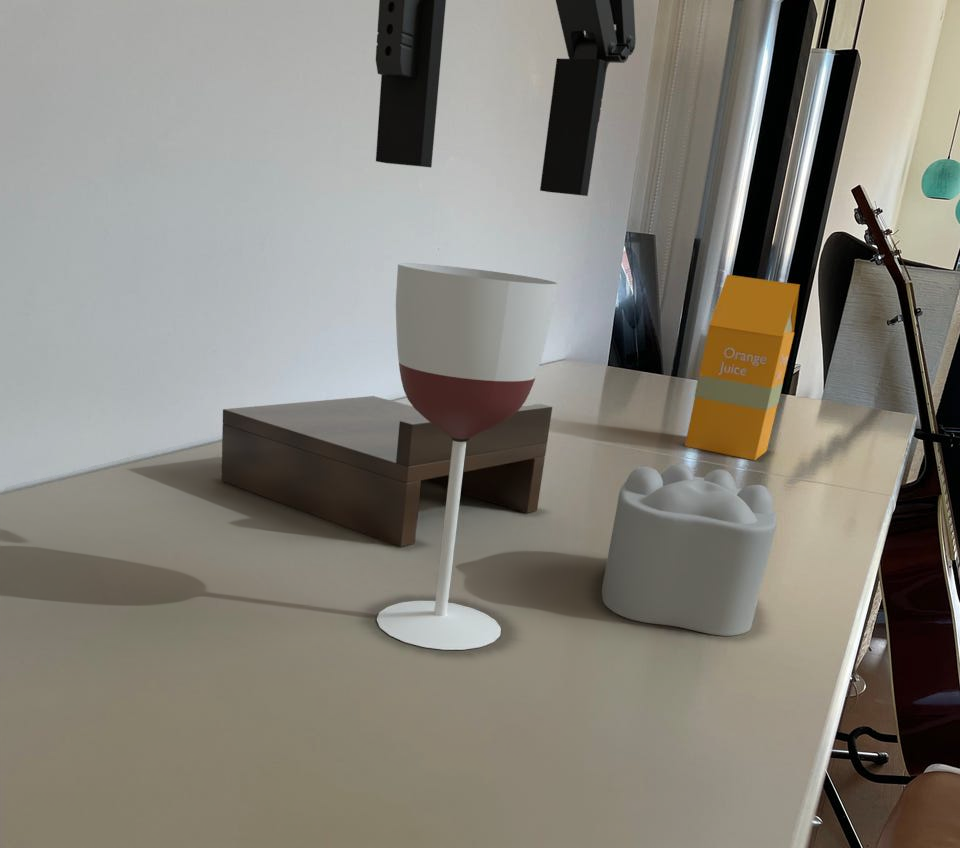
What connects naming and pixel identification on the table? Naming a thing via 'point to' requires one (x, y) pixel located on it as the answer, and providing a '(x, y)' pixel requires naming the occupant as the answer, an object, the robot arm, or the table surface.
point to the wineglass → (463, 401)
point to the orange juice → (743, 367)
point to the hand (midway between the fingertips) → (491, 181)
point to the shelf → (376, 460)
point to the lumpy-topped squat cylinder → (689, 550)
